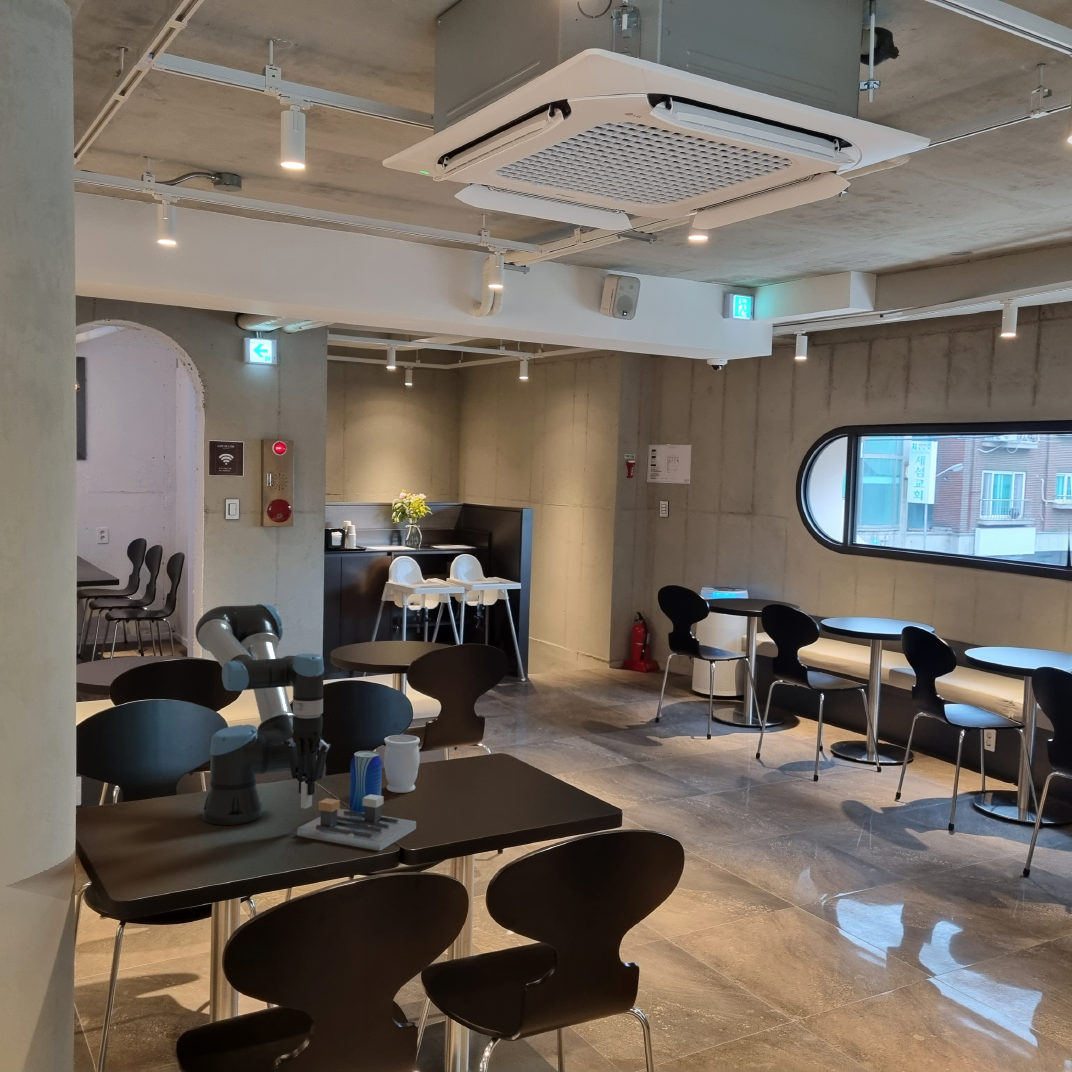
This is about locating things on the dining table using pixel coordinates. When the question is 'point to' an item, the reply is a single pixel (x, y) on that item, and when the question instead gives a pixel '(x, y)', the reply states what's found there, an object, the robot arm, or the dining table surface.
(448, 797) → the dining table surface
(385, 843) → the console
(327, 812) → the fader
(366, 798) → the fader
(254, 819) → the robot arm
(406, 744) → the jar
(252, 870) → the dining table surface
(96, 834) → the dining table surface
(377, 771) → the beer can
